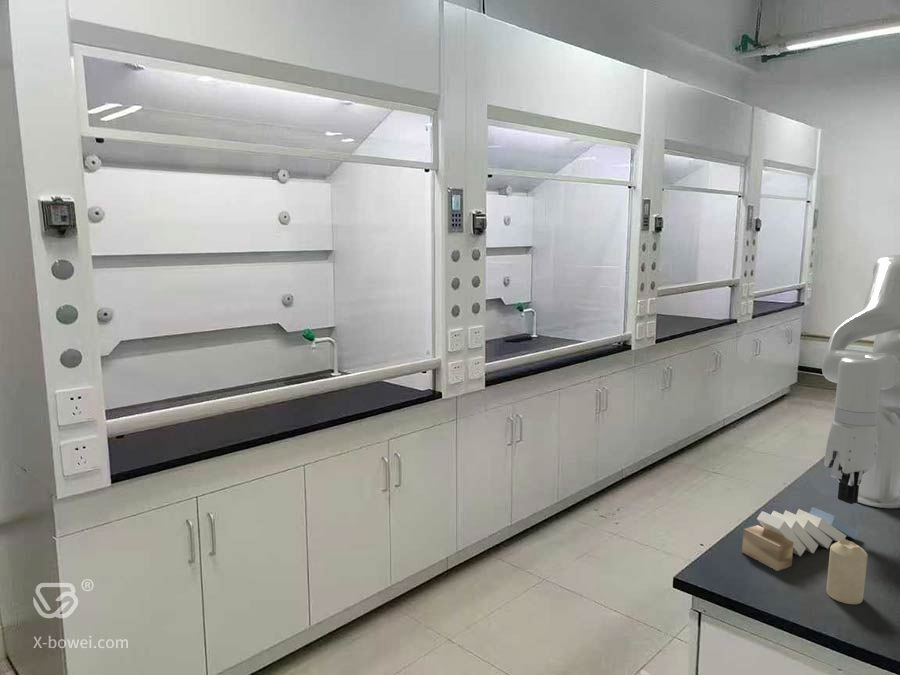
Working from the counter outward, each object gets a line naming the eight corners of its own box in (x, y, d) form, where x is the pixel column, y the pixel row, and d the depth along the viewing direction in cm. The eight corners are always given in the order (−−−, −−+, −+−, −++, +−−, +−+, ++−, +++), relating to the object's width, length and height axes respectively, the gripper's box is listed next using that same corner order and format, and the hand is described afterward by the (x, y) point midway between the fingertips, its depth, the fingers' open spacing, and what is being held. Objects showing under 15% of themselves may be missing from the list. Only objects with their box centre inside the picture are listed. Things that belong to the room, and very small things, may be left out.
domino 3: (809, 530, 133) (785, 510, 129) (832, 540, 128) (808, 519, 124) (805, 538, 133) (780, 518, 129) (827, 548, 128) (803, 528, 124)
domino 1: (783, 537, 130) (762, 510, 126) (806, 548, 125) (784, 520, 121) (778, 545, 129) (756, 518, 125) (800, 556, 125) (778, 529, 121)
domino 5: (836, 521, 137) (812, 506, 132) (859, 531, 132) (835, 516, 128) (833, 530, 136) (808, 515, 132) (856, 540, 132) (831, 525, 128)
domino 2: (795, 535, 131) (773, 510, 127) (818, 545, 127) (796, 520, 123) (790, 543, 131) (768, 518, 127) (813, 553, 126) (790, 528, 122)
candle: (870, 601, 110) (876, 547, 108) (845, 607, 108) (851, 552, 107) (842, 585, 115) (847, 533, 113) (818, 590, 113) (823, 538, 112)
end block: (756, 548, 129) (757, 525, 128) (791, 566, 122) (793, 541, 121) (741, 552, 127) (743, 528, 126) (777, 570, 120) (778, 546, 119)
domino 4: (823, 526, 135) (798, 508, 130) (846, 535, 130) (821, 518, 126) (819, 534, 135) (794, 517, 130) (842, 544, 130) (817, 527, 126)
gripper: (860, 408, 137) (852, 488, 139) (814, 416, 130) (807, 501, 133) (896, 416, 130) (888, 501, 133) (849, 426, 124) (841, 514, 127)
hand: (847, 501), depth 133 cm, fingers closed
